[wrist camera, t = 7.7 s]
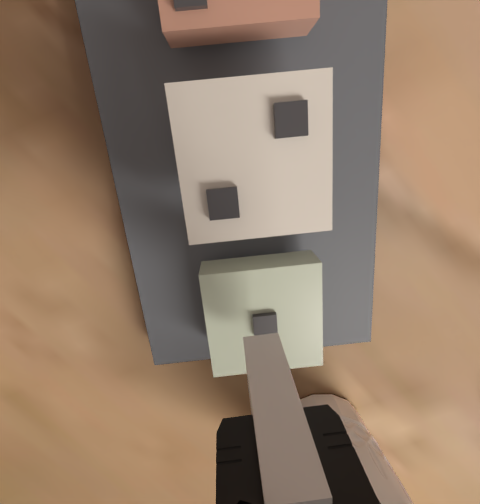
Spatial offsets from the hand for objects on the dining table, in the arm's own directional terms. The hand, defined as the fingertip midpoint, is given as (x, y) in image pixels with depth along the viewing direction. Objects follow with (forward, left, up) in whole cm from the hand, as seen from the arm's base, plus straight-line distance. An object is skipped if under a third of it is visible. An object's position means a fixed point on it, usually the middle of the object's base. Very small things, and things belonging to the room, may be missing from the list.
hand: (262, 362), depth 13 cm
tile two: (0, +8, -3) cm, 9 cm away
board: (0, +8, -8) cm, 11 cm away
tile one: (0, 0, -5) cm, 5 cm away
